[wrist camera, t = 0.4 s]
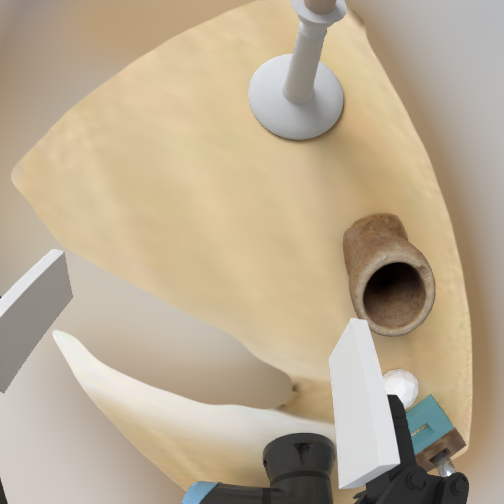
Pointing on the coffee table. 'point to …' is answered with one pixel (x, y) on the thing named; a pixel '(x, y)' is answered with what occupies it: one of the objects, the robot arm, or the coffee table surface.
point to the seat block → (433, 417)
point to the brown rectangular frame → (440, 449)
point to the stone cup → (387, 275)
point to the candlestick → (300, 79)
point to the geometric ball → (401, 385)
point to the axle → (444, 464)
